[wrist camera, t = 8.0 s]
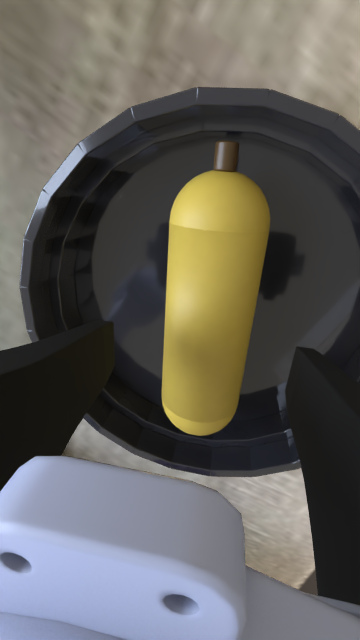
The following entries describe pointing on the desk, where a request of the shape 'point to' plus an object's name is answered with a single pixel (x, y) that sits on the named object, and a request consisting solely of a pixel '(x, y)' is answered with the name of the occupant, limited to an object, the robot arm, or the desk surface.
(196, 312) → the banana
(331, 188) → the pan
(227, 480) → the desk surface
